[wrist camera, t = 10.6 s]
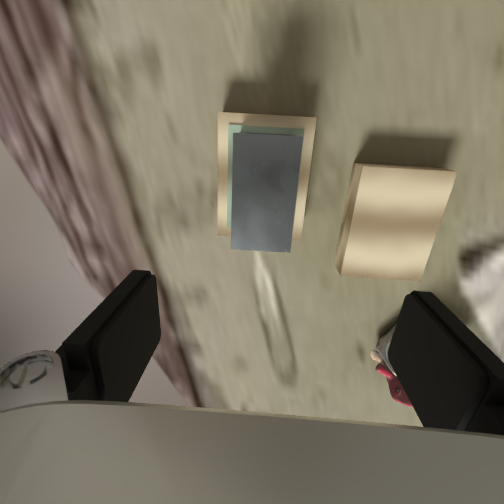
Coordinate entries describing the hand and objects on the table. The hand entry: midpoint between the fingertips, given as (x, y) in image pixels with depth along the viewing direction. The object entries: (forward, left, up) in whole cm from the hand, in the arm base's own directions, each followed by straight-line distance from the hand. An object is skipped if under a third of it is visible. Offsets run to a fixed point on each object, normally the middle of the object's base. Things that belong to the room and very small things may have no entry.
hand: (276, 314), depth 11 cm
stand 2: (-2, -13, -23) cm, 26 cm away
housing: (+2, +1, -19) cm, 19 cm away
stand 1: (+2, +1, -23) cm, 23 cm away
